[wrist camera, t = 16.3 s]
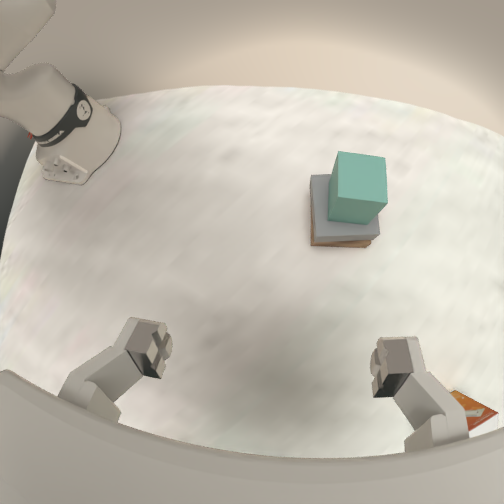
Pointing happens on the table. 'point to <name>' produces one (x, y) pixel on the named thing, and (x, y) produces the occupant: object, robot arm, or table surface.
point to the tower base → (340, 243)
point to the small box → (477, 415)
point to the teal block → (357, 188)
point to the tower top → (332, 229)
